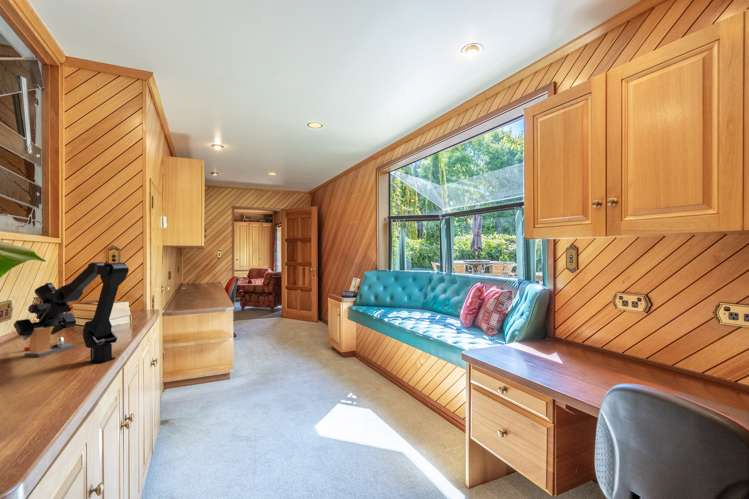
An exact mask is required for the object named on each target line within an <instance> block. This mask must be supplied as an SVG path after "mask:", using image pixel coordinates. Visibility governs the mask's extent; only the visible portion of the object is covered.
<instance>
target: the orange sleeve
mask: <svg viewBox="0 0 749 499" xmlns="http://www.w3.org/2000/svg"><path fill="white" fill-rule="evenodd" d="M50 343H51V327H47V328H43V327H42V328H36V329H34V332H33V333H32V335H31V336H30V337H29V345H30V350H29V352H34V353H38V352H43V351H47V350H50Z"/></svg>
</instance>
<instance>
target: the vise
mask: <svg viewBox="0 0 749 499" xmlns="http://www.w3.org/2000/svg"><path fill="white" fill-rule="evenodd" d="M73 348H75V344H73V343H72V342H66V343H65V338H64V336H60V337H57V338H56V343H53V344H51V345H50V350H47V351H43V352H38V353H34V352H30V351H27V352H24V357H31V358H42V357H45V356H49V355H52V354H55V353H56V354H57V353H59V352H62V351H66V350H70V349H73Z"/></svg>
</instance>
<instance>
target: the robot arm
mask: <svg viewBox="0 0 749 499" xmlns="http://www.w3.org/2000/svg"><path fill="white" fill-rule="evenodd" d="M129 271H130V269H129V267H128V265H127V264H126V263H125V262H104V261H103V262H102V261H96V262H95V261H94V262H93V261H92V262H90V263H88V264H87V267H86V268H85V269H83V270H82V271H81V272H80V273H79V274H78V275H77V276H76V277H75V278H74V279H73V280H72V281H71V282H69V283H67V284H65V285H62V286H60V287H58V288H57V287H55V285H54V284H53V282H46V283H45V284H42V285H41V286H39V287H38V288H36V289H34V292H33V293H34V294H35V295H36V296H37V298H38V299H39V300H40V302H41V303H34V304H30V305H29V306H28V309H27V310H28V312H29V313H30V314H35V315H36V316H35V318H36V319H37V320H38V322H37V321H36V323H33V322H32V321H31V319H30V318H24V319H17V320H15V322H14V323H13V327H14V329H15V330H16V333H17V334H18V336H22V340H23V341H26V340H28V339H30V336H31V335H32V333H33V332H34V329H36V328H42V327H43V328H47V327H50V328H52V330H50V336H54V335H56V334H57V333H60V332H63V331H65V330H67V329H70V328H73V327H74V326H75V325H76V324H77V319H76V318H75V316H74V314H73V313H72V312H71V311H72V308H71V306H70V304H69V303H71V302H73V303H74V302H77V301H78V300H79V299H80V298H81V297H82V296H83V294H84V290H85V289H86V287H88V285H90V284H91V283H92V282H93V281H94V280H95V279H96V278H97V277H98V276H99V277H100V280H101V282H102V287H101V291H100V293H99V298H98V300H97V305H96V308H95V312H94V316H93V317H92V319H91V320H87V321H86V322H85V323H84V327H83V329H82V331H81V332H82V337H83V341H84V345H85V347H86V348H88V349H90V351H89V352H90V354H89V355H90V357H89V358H90V359H89V360H87V361H86V363H92V364H102V363H103V364H104V363H106V362H109V361H112V360H114V359H116V356H113V346H112V345H113V344H114V343H116V342H117V341H118V336H117V335H116V334H115V333H114V331H113V330H112V328H113V327H112V326H113V325H112V323H111V321H110V318H111V314H112V311H113V308H114V302H115V299H116V295H117V293H118V289H119V286H120V285H121V284H122V283H123V282H124V281H125V280H126V278H127V276H128V275H129Z"/></svg>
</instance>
